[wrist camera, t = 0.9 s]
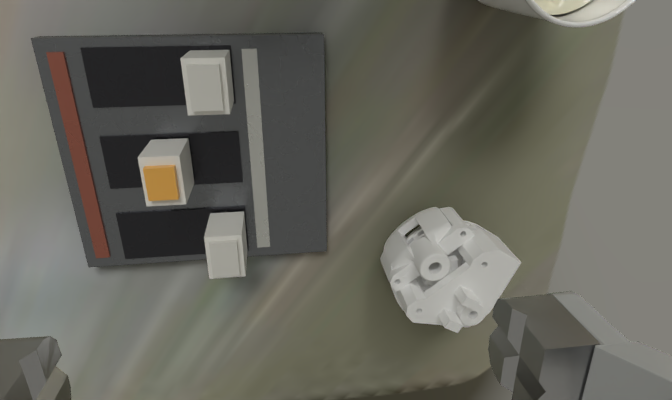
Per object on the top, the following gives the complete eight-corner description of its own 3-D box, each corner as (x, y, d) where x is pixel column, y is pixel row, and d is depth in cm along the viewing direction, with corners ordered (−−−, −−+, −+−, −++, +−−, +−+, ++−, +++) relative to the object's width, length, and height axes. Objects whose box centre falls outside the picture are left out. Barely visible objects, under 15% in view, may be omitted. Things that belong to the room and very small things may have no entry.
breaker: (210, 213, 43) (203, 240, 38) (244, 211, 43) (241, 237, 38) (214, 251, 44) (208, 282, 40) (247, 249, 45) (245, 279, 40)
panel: (39, 36, 37) (29, 38, 35) (322, 32, 39) (324, 34, 38) (94, 258, 45) (87, 268, 44) (324, 243, 48) (326, 252, 46)
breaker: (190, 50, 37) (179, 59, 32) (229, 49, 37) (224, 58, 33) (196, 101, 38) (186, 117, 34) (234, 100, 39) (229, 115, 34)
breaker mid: (151, 139, 39) (135, 160, 35) (188, 138, 40) (177, 158, 35) (158, 184, 41) (144, 209, 36) (194, 182, 41) (185, 207, 37)
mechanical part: (418, 309, 53) (456, 392, 42) (353, 239, 48) (377, 312, 37) (503, 249, 51) (566, 320, 40) (444, 170, 46) (497, 226, 35)
